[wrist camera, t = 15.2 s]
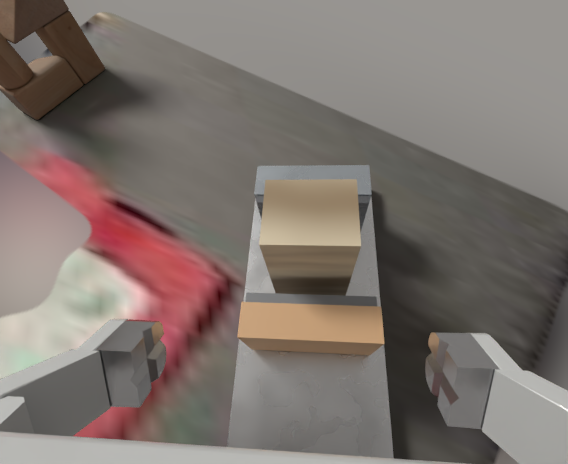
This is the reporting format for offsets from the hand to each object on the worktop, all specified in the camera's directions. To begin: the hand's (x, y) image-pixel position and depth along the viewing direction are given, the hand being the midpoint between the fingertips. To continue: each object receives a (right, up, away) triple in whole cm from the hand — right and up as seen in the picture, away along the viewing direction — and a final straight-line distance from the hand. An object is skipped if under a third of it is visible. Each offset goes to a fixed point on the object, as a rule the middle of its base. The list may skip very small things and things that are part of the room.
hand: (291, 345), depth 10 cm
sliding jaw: (+2, -4, +13) cm, 13 cm away
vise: (+2, -2, +15) cm, 15 cm away
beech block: (+2, 0, +15) cm, 15 cm away
